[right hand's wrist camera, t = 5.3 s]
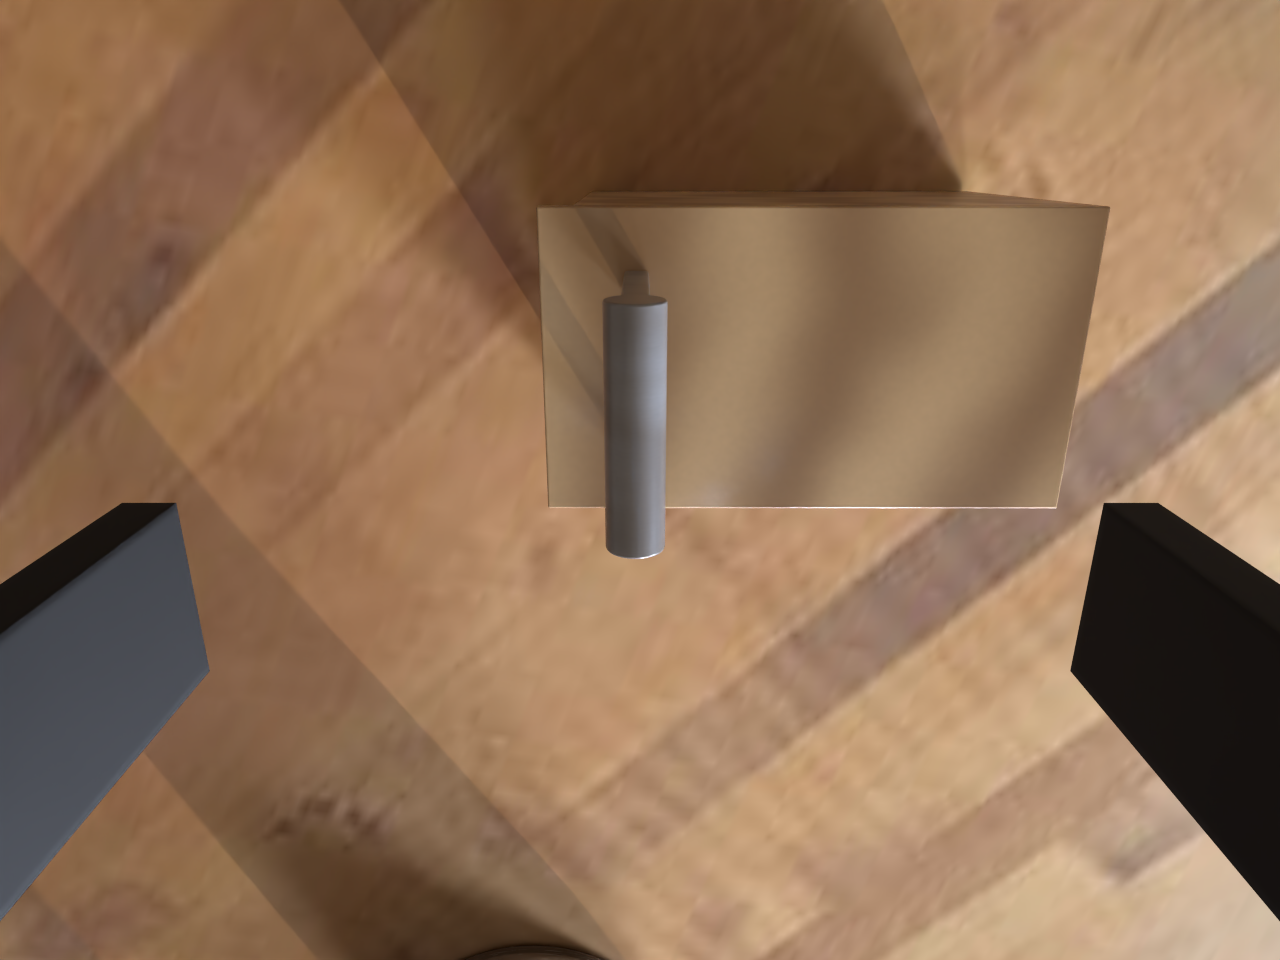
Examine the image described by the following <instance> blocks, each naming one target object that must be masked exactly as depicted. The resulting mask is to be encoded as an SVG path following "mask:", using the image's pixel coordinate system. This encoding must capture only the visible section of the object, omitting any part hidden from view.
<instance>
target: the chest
mask: <svg viewBox="0 0 1280 960" xmlns="http://www.w3.org/2000/svg"><path fill="white" fill-rule="evenodd" d="M574 205H1089V204H1080V203H1071V202H1061V201H1052V200H1043V199H1033V198H1024V197H1015V196H1005V195H996V194H986V193H977V192H967V191H593V192H591V193H590V194H588V195H587V196H585V197H584V198H583V199H581V200H580V201H578V202H577V203H576V204H574Z"/></svg>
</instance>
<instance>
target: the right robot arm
mask: <svg viewBox="0 0 1280 960" xmlns="http://www.w3.org/2000/svg"><path fill="white" fill-rule="evenodd" d="M209 671H210V670H209V665H208V660H207V655H206V650H205V645H204V640H203V635H202V630H201V625H200V620H199V615H198V610H197V605H196V600H195V595H194V590H193V585H192V580H191V575H190V570H189V565H188V560H187V555H186V550H185V545H184V540H183V535H182V530H181V525H180V520H179V515H178V510H177V505H176V503H121V504H120V505H118V506H117V507H115V508H114V509H112V510H111V511H109V512H108V513H106V514H105V515H103V516H102V517H100V518H99V519H97V520H96V521H94V522H93V523H91V524H90V525H88V526H87V527H85V528H84V529H82V530H81V531H79V532H78V533H76V534H75V535H73V536H72V537H70V538H69V539H67V540H66V541H64V542H63V543H61V544H60V545H58V546H57V547H55V548H54V549H52V550H51V551H49V552H48V553H46V554H45V555H43V556H42V557H41V558H39V559H38V560H36V561H35V562H33V563H32V564H30V565H29V566H27V567H26V568H24V569H23V570H21V571H20V572H18V573H17V574H15V575H14V576H12V577H11V578H9V579H8V580H6V581H5V582H3V583H2V584H0V921H1V920H2V918H3V917H4V916H5V915H6V914H7V912H8V911H9V910H10V909H11V908H12V906H13V905H14V904H15V903H16V902H17V900H18V899H19V898H20V897H21V896H22V894H23V893H24V892H25V891H26V890H27V888H28V887H29V886H30V885H31V884H32V883H33V881H34V880H35V879H36V878H37V877H38V875H39V874H40V873H41V872H42V871H43V869H44V868H45V867H46V866H47V865H48V863H49V862H50V861H51V860H52V859H53V857H54V856H55V855H56V854H57V853H58V851H59V850H60V849H61V848H62V847H63V845H64V844H65V843H66V842H67V841H68V839H69V838H70V837H71V836H72V835H73V834H74V832H75V831H76V830H77V829H78V828H79V826H80V825H81V824H82V823H83V822H84V820H85V819H86V818H87V817H88V816H89V814H90V813H91V812H92V811H93V810H94V808H95V807H96V806H97V805H98V804H99V802H100V801H101V800H102V799H103V798H104V796H105V795H106V794H107V793H108V792H109V790H110V789H111V788H112V787H113V786H114V785H115V783H116V782H117V781H118V780H119V779H120V777H121V776H122V775H123V774H124V773H125V771H126V770H127V769H128V768H129V767H130V765H131V764H132V763H133V762H134V761H135V759H136V758H137V757H138V756H139V755H140V753H141V752H142V751H143V750H144V749H145V747H146V746H147V745H148V744H149V743H150V741H151V740H152V739H153V738H154V737H155V736H156V734H157V733H158V732H159V731H160V730H161V728H162V727H163V726H164V725H165V724H166V722H167V721H168V720H169V719H170V718H171V716H172V715H173V714H174V713H175V712H176V710H177V709H178V708H179V707H180V706H181V704H182V703H183V702H184V701H185V700H186V698H187V697H188V696H189V695H190V694H191V693H192V691H193V690H194V689H195V688H196V687H197V685H198V684H199V683H200V682H201V681H202V679H203V678H204V677H205V676H206V675H207V673H208V672H209ZM1070 671H1071V672H1072V673H1073V675H1074V676H1075V677H1076V678H1077V679H1078V681H1079V682H1080V683H1081V684H1082V685H1083V687H1084V688H1085V689H1086V690H1087V691H1088V693H1089V694H1090V695H1091V696H1092V697H1093V698H1094V700H1095V701H1096V702H1097V703H1098V704H1099V706H1100V707H1101V708H1102V709H1103V710H1104V712H1105V713H1106V714H1107V715H1108V716H1109V718H1110V719H1111V720H1112V721H1113V722H1114V724H1115V725H1116V726H1117V727H1118V728H1119V730H1120V731H1121V732H1122V733H1123V734H1124V736H1125V737H1126V738H1127V739H1128V740H1129V741H1130V743H1131V744H1132V745H1133V746H1134V747H1135V749H1136V750H1137V751H1138V752H1139V753H1140V755H1141V756H1142V757H1143V758H1144V759H1145V761H1146V762H1147V763H1148V764H1149V765H1150V767H1151V768H1152V769H1153V770H1154V771H1155V773H1156V774H1157V775H1158V776H1159V777H1160V779H1161V780H1162V781H1163V782H1164V783H1165V785H1166V786H1167V787H1168V788H1169V789H1170V790H1171V792H1172V793H1173V794H1174V795H1175V796H1176V798H1177V799H1178V800H1179V801H1180V802H1181V804H1182V805H1183V806H1184V807H1185V808H1186V810H1187V811H1188V812H1189V813H1190V814H1191V816H1192V817H1193V818H1194V819H1195V820H1196V822H1197V823H1198V824H1199V825H1200V826H1201V828H1202V829H1203V830H1204V831H1205V832H1206V834H1207V835H1208V836H1209V837H1210V838H1211V839H1212V841H1213V842H1214V843H1215V844H1216V845H1217V847H1218V848H1219V849H1220V850H1221V851H1222V853H1223V854H1224V855H1225V856H1226V857H1227V859H1228V860H1229V861H1230V862H1231V863H1232V865H1233V866H1234V867H1235V868H1236V869H1237V871H1238V872H1239V873H1240V874H1241V875H1242V877H1243V878H1244V879H1245V880H1246V881H1247V883H1248V884H1249V885H1250V886H1251V887H1252V888H1253V890H1254V891H1255V892H1256V893H1257V894H1258V896H1259V897H1260V898H1261V899H1262V900H1263V902H1264V903H1265V904H1266V905H1267V906H1268V908H1269V909H1270V910H1271V911H1272V912H1273V914H1274V915H1275V916H1276V917H1277V918H1278V920H1279V921H1280V584H1278V583H1277V582H1275V581H1274V580H1272V579H1271V578H1269V577H1268V576H1266V575H1265V574H1263V573H1262V572H1260V571H1259V570H1257V569H1256V568H1254V567H1253V566H1251V565H1250V564H1248V563H1247V562H1245V561H1244V560H1242V559H1241V558H1239V557H1238V556H1237V555H1235V554H1234V553H1232V552H1231V551H1229V550H1228V549H1226V548H1225V547H1223V546H1222V545H1220V544H1219V543H1217V542H1216V541H1214V540H1213V539H1211V538H1210V537H1208V536H1207V535H1205V534H1204V533H1202V532H1201V531H1199V530H1198V529H1196V528H1195V527H1193V526H1192V525H1190V524H1189V523H1187V522H1186V521H1184V520H1183V519H1181V518H1180V517H1178V516H1177V515H1175V514H1174V513H1172V512H1171V511H1169V510H1168V509H1166V508H1165V507H1163V506H1162V505H1160V504H1159V503H1104V505H1103V510H1102V515H1101V520H1100V525H1099V530H1098V535H1097V540H1096V545H1095V550H1094V555H1093V560H1092V565H1091V570H1090V575H1089V580H1088V585H1087V590H1086V595H1085V600H1084V605H1083V610H1082V615H1081V620H1080V625H1079V630H1078V635H1077V640H1076V645H1075V650H1074V655H1073V660H1072V665H1071V670H1070ZM466 960H602V959H600V958H597V957H594V956H592V955H589V954H585V953H582V952H579V951H575V950H570V949H565V948H558V947H551V946H517V947H508V948H502V949H496V950H492V951H488V952H484V953H482V954H479V955H476V956H473V957H470V958H468V959H466Z"/></svg>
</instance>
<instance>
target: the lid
mask: <svg viewBox="0 0 1280 960" xmlns="http://www.w3.org/2000/svg"><path fill="white" fill-rule="evenodd" d="M1109 212H1110V207H1108V206H1099V205H540V206H538V207H537V233H538V258H539V283H540V309H541V334H542V359H543V385H544V410H545V435H546V461H547V486H548V507H549V508H605V527H606V548H607V550H608V551H609V552H610V553H612V554H613V555H616V556H618V557H622V558H629V559H641V558H648V557H652V556H655V555H657V554H659V553H661V552H662V551H663V549H664V547H665V508H1056V507H1057V502H1058V496H1059V491H1060V485H1061V480H1062V474H1063V468H1064V463H1065V457H1066V452H1067V446H1068V441H1069V435H1070V429H1071V424H1072V418H1073V413H1074V407H1075V402H1076V396H1077V391H1078V385H1079V379H1080V374H1081V368H1082V363H1083V357H1084V352H1085V346H1086V340H1087V335H1088V329H1089V324H1090V318H1091V313H1092V307H1093V301H1094V296H1095V290H1096V285H1097V279H1098V274H1099V268H1100V262H1101V257H1102V251H1103V246H1104V240H1105V235H1106V229H1107V223H1108V218H1109Z"/></svg>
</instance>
